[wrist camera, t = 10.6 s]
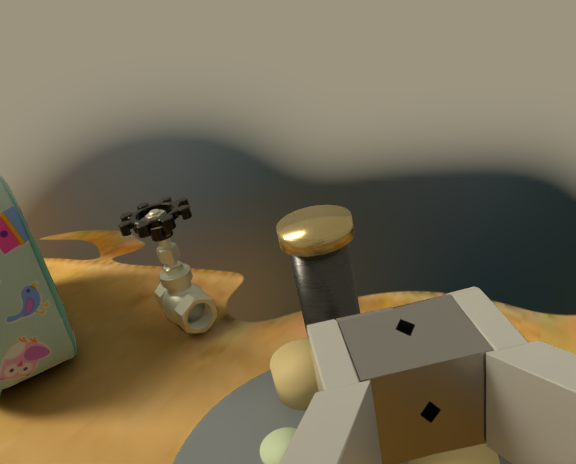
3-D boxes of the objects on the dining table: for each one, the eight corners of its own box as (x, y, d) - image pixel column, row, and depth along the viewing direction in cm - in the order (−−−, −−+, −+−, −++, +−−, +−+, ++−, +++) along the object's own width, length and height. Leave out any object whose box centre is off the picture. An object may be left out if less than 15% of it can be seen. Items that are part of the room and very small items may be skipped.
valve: (175, 352, 46) (132, 235, 41) (147, 324, 51) (106, 217, 46) (236, 317, 49) (203, 204, 44) (204, 294, 54) (172, 190, 49)
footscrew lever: (196, 616, 24) (66, 342, 17) (177, 536, 27) (65, 286, 21) (410, 495, 27) (373, 225, 20) (367, 438, 31) (323, 195, 24)
